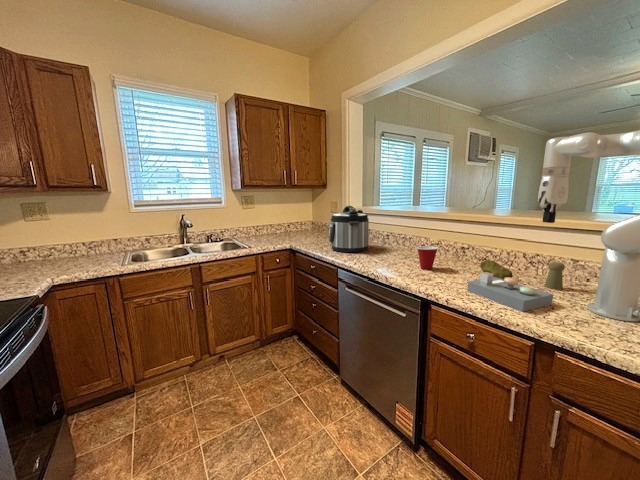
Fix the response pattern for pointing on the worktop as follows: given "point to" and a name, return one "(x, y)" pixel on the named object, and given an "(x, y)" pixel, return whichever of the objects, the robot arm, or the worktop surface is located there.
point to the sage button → (527, 291)
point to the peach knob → (510, 282)
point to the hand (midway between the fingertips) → (548, 222)
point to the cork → (555, 276)
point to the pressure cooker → (349, 230)
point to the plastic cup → (426, 256)
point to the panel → (510, 295)
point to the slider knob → (486, 278)
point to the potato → (495, 269)
